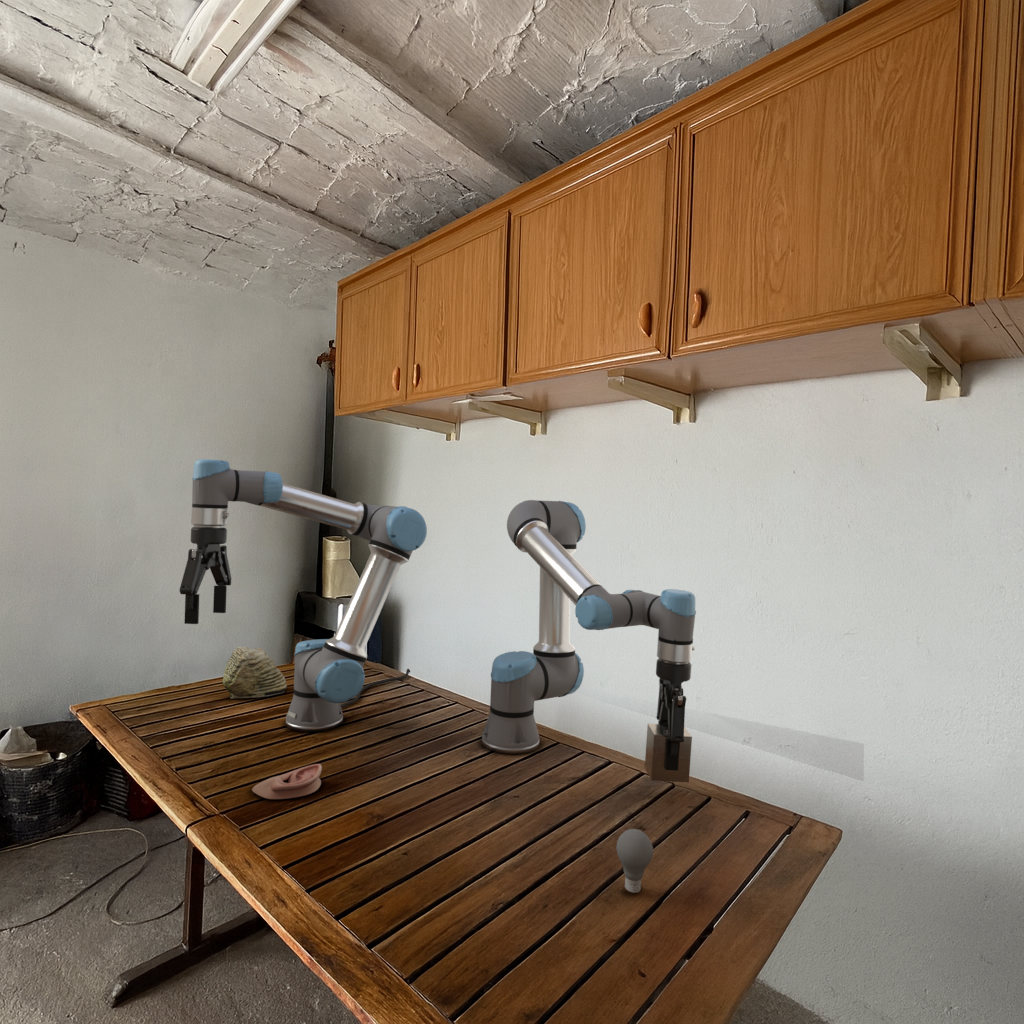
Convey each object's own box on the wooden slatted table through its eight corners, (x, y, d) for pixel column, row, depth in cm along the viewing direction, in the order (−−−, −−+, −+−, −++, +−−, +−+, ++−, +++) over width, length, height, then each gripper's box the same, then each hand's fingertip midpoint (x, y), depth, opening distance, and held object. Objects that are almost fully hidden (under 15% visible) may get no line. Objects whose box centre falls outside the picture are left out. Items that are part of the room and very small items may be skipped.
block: (651, 780, 138) (654, 734, 138) (644, 767, 145) (647, 723, 144) (688, 782, 138) (692, 736, 138) (680, 769, 145) (683, 725, 144)
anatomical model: (244, 776, 132) (275, 755, 144) (243, 795, 132) (274, 772, 144) (301, 785, 130) (329, 762, 141) (301, 804, 130) (328, 780, 141)
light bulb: (610, 879, 108) (613, 822, 108) (644, 879, 109) (647, 822, 109) (619, 902, 102) (622, 840, 102) (655, 901, 103) (658, 840, 103)
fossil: (218, 695, 195) (220, 647, 195) (278, 685, 208) (279, 640, 207) (228, 703, 189) (230, 653, 188) (289, 692, 201) (290, 645, 201)
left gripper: (199, 529, 134) (195, 629, 134) (247, 525, 159) (244, 609, 159) (163, 528, 134) (160, 628, 134) (217, 523, 159) (214, 608, 159)
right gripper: (704, 674, 131) (696, 783, 132) (679, 649, 150) (672, 745, 151) (668, 672, 131) (660, 781, 131) (647, 648, 150) (641, 743, 151)
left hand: (206, 618), depth 147 cm, fingers open, 13 cm apart
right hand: (667, 762), depth 141 cm, fingers closed on block, 6 cm apart
